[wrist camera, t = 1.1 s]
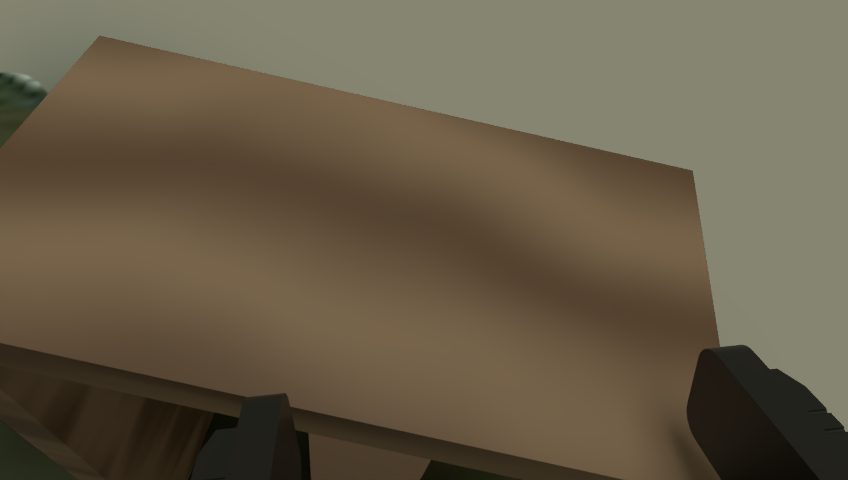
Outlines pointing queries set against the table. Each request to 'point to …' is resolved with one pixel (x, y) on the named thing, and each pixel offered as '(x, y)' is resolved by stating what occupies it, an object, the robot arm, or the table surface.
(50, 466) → the table surface
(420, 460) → the terracotta carton
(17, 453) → the table surface
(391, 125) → the walnut shelf
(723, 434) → the robot arm
